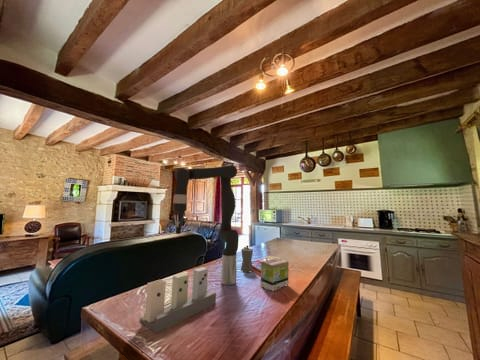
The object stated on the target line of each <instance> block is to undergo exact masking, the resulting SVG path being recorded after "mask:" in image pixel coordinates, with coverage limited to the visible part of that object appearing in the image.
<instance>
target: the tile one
mask: <svg viewBox="0 0 480 360" xmlns="http://www.w3.org/2000/svg"><path fill="white" fill-rule="evenodd" d="M146 287H147V288H146V296H145V297H146V298H145V313H144V316H145V320H147V321H148V322H149V323H150V322H152V321H154V318H155V317H156V316H159V315H161V314H163V313H164V308H165V302H166V301H165V299H166V298H165V297H166V280H164V279H162V278H161V279H160V278H159V279H158V280H154V281H150V282H147V286H146Z"/></svg>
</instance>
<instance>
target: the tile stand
mask: <svg viewBox="0 0 480 360" xmlns="http://www.w3.org/2000/svg"><path fill="white" fill-rule="evenodd" d="M216 301H217V292H215V291H211V292H209V293H207V295H204V296H202V297H200V298H197V299H195V300H194V299H192V296H190V297H189V296H188V299H187V303H186V304H184V305H182V306H179V307H177V308H175V309H172V308H171V304H170V305H168V306H166V307H165V306H164V313H163V314H161V315H159V316H156V317H155V318H154V321H152V322H150V323H149V322H148V321H147V320H145V315H144V316H142V317H140V318H139V321H141V323H143V324H144V325H145V326H146V327H147V328H149V329H150V330H151V331H152V330H153V331H152V332H153V333H155V334H159V333H161V332H162V331H164V330H167V329H168V328H170V327H172V326H174V325H177V324H178V323H180V322H182V321H184V320H186V319H188V318H191V317H192V316H193V315H196V314H198V313H199V312H201V311H203V310H206V309H207V308H210V307H211V306H213V305H215V304H216V303H217V302H216ZM181 320H182V321H181ZM179 321H180V322H179ZM177 322H178V323H177Z"/></svg>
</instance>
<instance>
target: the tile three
mask: <svg viewBox="0 0 480 360" xmlns="http://www.w3.org/2000/svg"><path fill="white" fill-rule="evenodd" d="M208 270H209V269H208V268H207V267H203V266H201V267H198V268H194V269H193V273H192V274H193V275H192V293H191V294H192V295H191V297H192V299H194V300H195V299H197V298H200V297H202V296H204V295H207V294H208V293H207V292H208V274H209V273H208Z"/></svg>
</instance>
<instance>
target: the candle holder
mask: <svg viewBox="0 0 480 360" xmlns="http://www.w3.org/2000/svg"><path fill="white" fill-rule="evenodd" d="M276 258H277V259H281V258H280V256H279V257H278V256H276V255H267V256H266V257H265V261H267V260H272V259H276Z"/></svg>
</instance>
